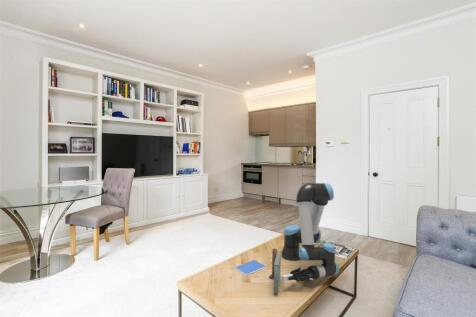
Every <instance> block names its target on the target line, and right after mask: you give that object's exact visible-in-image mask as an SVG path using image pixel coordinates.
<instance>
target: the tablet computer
mask: <svg viewBox="0 0 476 317" xmlns="http://www.w3.org/2000/svg"><path fill="white" fill-rule="evenodd" d="M265 268H267V265H264V264H262V263H261V262H259V261H257V260H255V259H253V260H250V261H248V262H245V263H243V264H240V265H237V266H234V269H235V270H236V271H238V272H239V273H241V274H243V275H244V276H248V275H251V274H253V273H255V272H257V271H261V270H263V269H265Z"/></svg>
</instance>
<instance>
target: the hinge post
mask: <svg viewBox="0 0 476 317" xmlns="http://www.w3.org/2000/svg"><path fill="white" fill-rule="evenodd" d="M277 253H278V249H277V248H272V253H271V254H272V258H271V259H272V260H271V274H270V275H269V276H268V278H269V279H272V280H274V262H275V258H276V254H277Z"/></svg>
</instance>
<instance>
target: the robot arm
mask: <svg viewBox="0 0 476 317" xmlns="http://www.w3.org/2000/svg"><path fill="white" fill-rule="evenodd" d="M334 194H335V193H334V189H333V187H332V185H331V184H330V183H326V182H320V183H319V182H306V183H304V184H302V185H301V186H300V187H299V189H298V191H297V194H296V200H295V201H296V202H295V203H296V205H297V206H298V214H299V215H298V217H299V225H297V224H291V225H290V224H289V225H286V226H285V227H284V231H283V234H284V235H283V236H284V237H283V248H282V250H281V258H283V259H284V260H287V261H294V262H295V261H300V260H302V261H321V263H318V264H313V265H309V266H307V268H302V267H300V266H299V267H298V268H295V269H293V270H291V271H289V274H285V275H281V281H282V282H283V283H285V282H288V281H289V282H290V281H295V282H298V283H300V282H314V280H318V279H322V278H327V277H332V276H335V275H338V274H339V272H340V268H339V265H338V263H336V246H335V245H334V244H333V243H329V242H325V243H322V247H321V246H319V247H318V246H315V244H318V243H319V242H320V241H321V239H322V232H321V229H320V228H319V225H320V222H321V219H322V216H323V213H324V209H325V206H327V205H328V203H329V202H330V201H333V200H334V196H335V195H334ZM300 244H301V247H300Z"/></svg>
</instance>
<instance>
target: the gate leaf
mask: <svg viewBox="0 0 476 317" xmlns="http://www.w3.org/2000/svg"><path fill="white" fill-rule="evenodd" d="M281 258H282V252H277V254H276V258H275V262H274V279H273V293H274V294H278V293H279V286H280V282H281V268H282V267H281V265H282V264H281V261H282V260H281Z"/></svg>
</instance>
